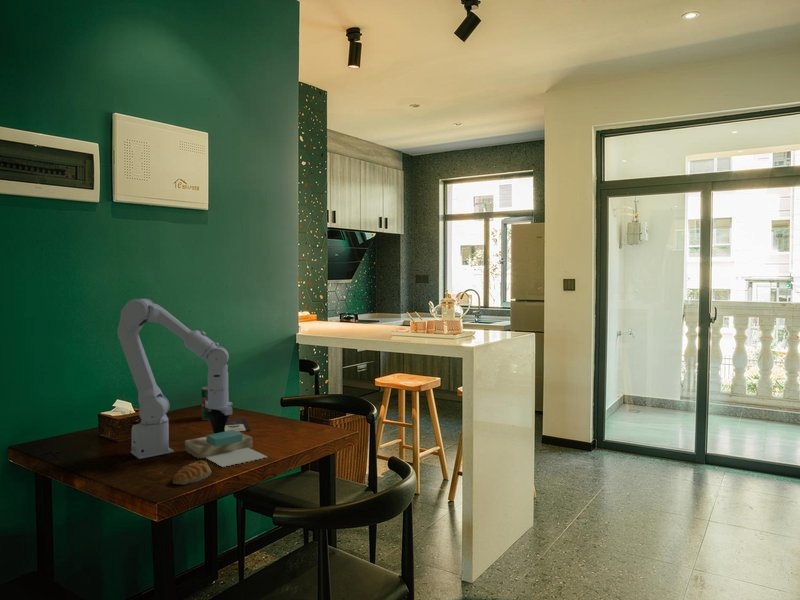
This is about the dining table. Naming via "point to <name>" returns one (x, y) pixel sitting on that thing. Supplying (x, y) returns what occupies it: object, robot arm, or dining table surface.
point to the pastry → (192, 473)
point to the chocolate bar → (236, 425)
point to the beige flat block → (204, 448)
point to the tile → (224, 438)
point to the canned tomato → (204, 398)
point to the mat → (235, 457)
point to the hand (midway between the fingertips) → (218, 435)
